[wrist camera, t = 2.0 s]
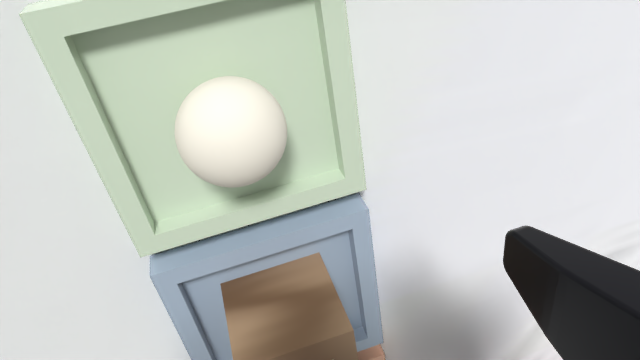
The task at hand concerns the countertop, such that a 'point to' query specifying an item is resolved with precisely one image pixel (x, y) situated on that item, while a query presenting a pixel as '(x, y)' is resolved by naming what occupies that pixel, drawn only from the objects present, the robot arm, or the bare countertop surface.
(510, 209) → the countertop surface
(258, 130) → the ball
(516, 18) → the countertop surface
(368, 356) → the dish terracotta
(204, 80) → the dish sage
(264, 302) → the letter cube
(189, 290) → the dish slate
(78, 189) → the countertop surface
